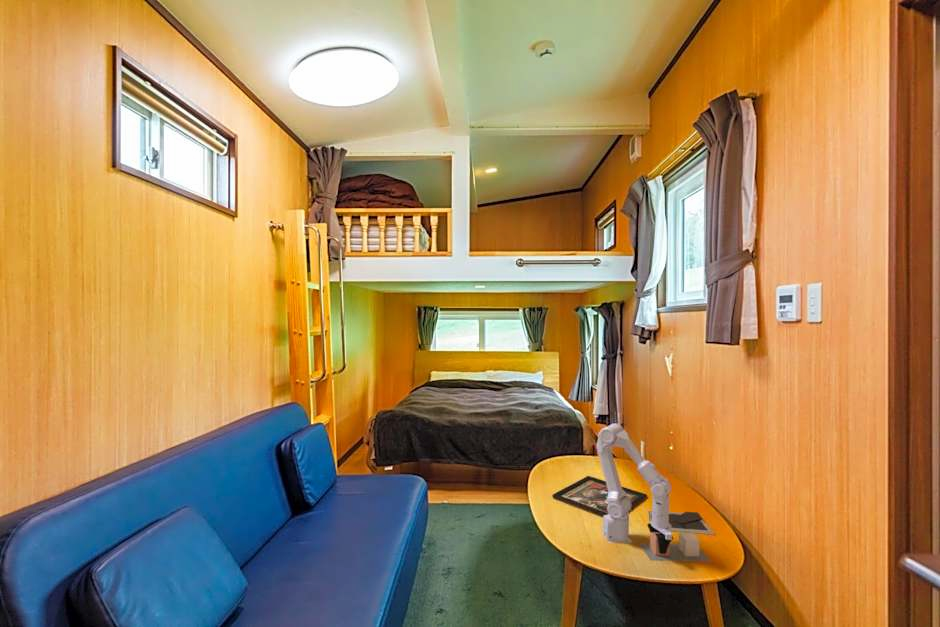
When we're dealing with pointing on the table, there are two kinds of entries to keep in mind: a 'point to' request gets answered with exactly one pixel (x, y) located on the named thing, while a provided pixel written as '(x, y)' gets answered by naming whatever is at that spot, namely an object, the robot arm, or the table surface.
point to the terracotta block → (656, 544)
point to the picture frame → (688, 523)
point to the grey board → (673, 554)
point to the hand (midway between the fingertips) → (659, 548)
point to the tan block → (689, 544)
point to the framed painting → (593, 496)
